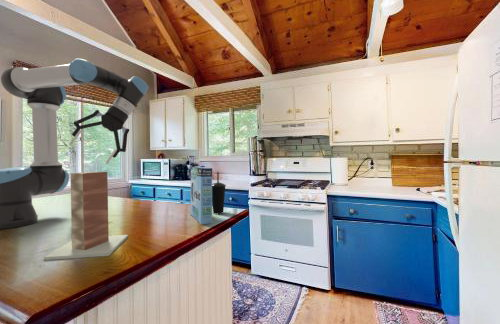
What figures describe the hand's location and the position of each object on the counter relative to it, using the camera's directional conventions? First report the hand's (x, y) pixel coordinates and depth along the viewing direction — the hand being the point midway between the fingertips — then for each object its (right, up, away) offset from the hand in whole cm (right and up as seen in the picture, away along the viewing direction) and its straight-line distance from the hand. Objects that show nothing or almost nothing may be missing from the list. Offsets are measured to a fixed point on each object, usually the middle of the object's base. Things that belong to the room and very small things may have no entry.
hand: (88, 154), depth 94 cm
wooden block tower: (+14, -28, -20) cm, 38 cm away
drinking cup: (+47, -28, +24) cm, 60 cm away
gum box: (+41, -28, +13) cm, 52 cm away
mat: (+14, -29, -21) cm, 38 cm away
